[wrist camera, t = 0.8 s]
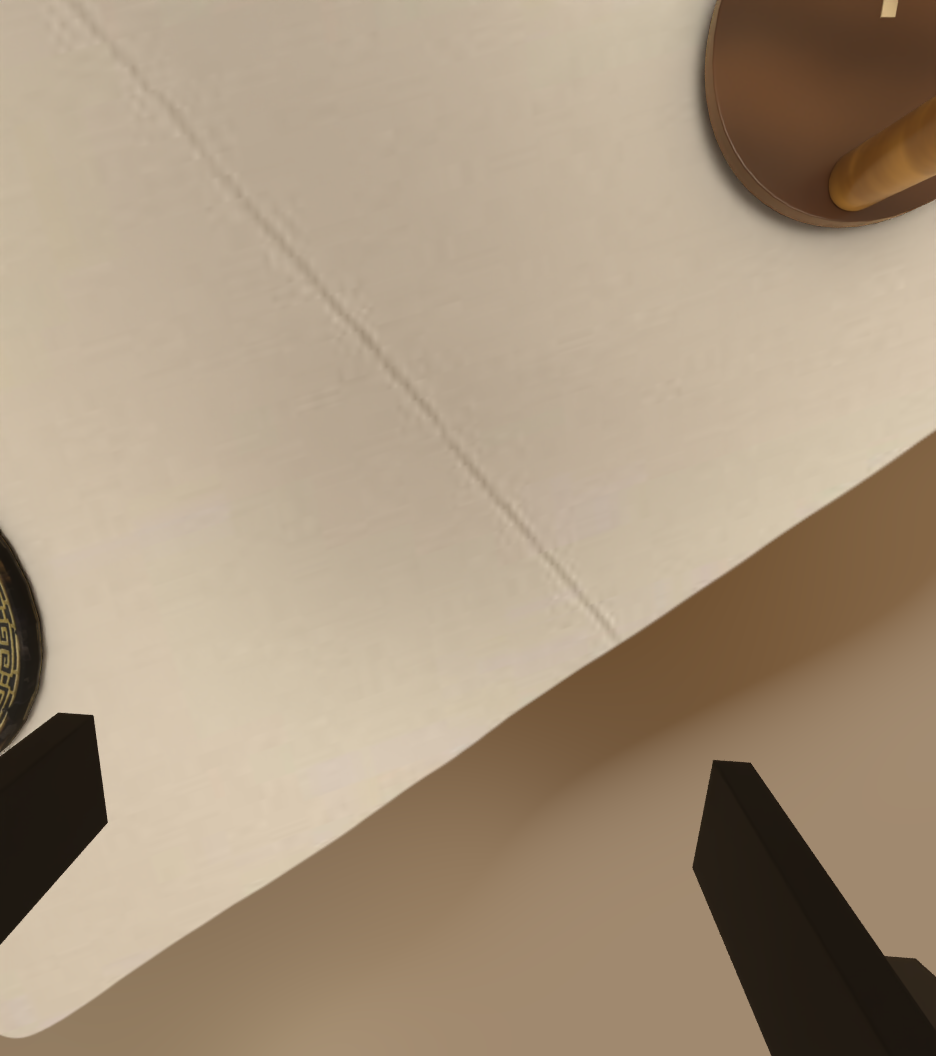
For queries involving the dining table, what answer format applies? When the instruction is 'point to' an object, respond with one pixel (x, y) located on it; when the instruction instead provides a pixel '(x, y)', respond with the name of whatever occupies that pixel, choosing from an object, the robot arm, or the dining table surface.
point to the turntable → (826, 105)
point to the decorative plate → (16, 647)
